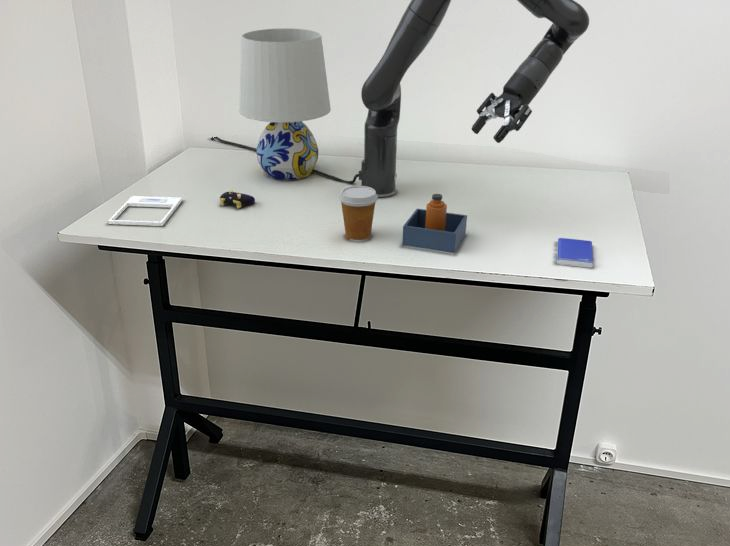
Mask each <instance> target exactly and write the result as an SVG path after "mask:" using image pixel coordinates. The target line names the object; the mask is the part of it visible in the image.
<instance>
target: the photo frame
mask: <svg viewBox="0 0 730 546" xmlns="http://www.w3.org/2000/svg"><path fill="white" fill-rule="evenodd" d="M182 202H183V197H177V196H175V197H172V196H170V197H169V196H141V195H131V196H130V197H129V198H128V199H127V200H126V202H124V204H122V205H121V206H120V207H119V209H117V210H116V211H115V213H114V214H113V215H111V217H110V218H109V219H108V220H107V223H108V225H121V226H123V225H124V226H125V225H126V226H151V227H153V226H154V227H164V225H165V224H166V222H167V221H168V220H169V218H170V217H171V216H172V215H173V213H174V212H175V211H176V210H177V208H178V207H179V206H180V204H181V203H182ZM128 207H139V208H166V209H167V208H169V210H168V212H167V213H166V214H165V215H164V216H163V218H162V219H161V220H160V221H158V220H157V221H155V220H154V221H153V220H129V219H127V220H126V219H118V217H119V216H120V215H121V214H122V213H123V212H124V211H125V210H126V209H127V208H128Z"/></svg>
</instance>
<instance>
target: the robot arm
mask: <svg viewBox="0 0 730 546" xmlns="http://www.w3.org/2000/svg"><path fill="white" fill-rule="evenodd" d="M516 1H517V2H518V4H520V5H521V6H522V7H523V8H525V9H526V10H527V12H529V13H531V15H532V16H534V17H535V18H536V19H546V20H548V21H550V22H551V25H550V27H548V30H546V33H545V34H544V35H543V37H542V39H541V40H540V41H539V42H538V43H537V44H536V46H535V47H534V48H533V49H532V50H531V52H530V53H529V54H528V56H527V57H526V58H525V59H524V60H523V62H521V63H520V64H519V66H518V67H517V68H516V69H515V71H514V72H513V74H512V75H511V76H510V78H509V79H508V80H507V82H505V84H504V85H503V87H502V92H501V94H500V95H499V96H497V95H495V93H494V92H491V93H490V94H489V95H488V96H487V97H486V98H485V99H484V101H483V102H482V103H481V104H480V106H479V107H478V108H477V109H476V113H477V114H478V118H477V119H476V121H475V122H474V123H473V124H472V126H471V131H472V132H473V133H474V134H476V135H478V134H479V133H480V132H481V131H482V129H483V128H484V127H485V126H486V124H487V122H488V121H490V120H494V119H497V118H500V119H504V124H502V125H501V126H500V128H499V129H497V131H496V132H495V134H494V135H493V140H494V141H495V143H497V144H500V143H501V142H503V141H504V139H506V137H507V135H508V134H509V133H510V132H512V131H516V132H519V131H520V130H521V128H522V127H523V125H524V124H525V123H526V121H528V119H529V117H530V116H531V115H532V113H533V110H532V109H531V107H530V106H529V105H530V104H531V103H532V102H533V100H534V99H535V98H536V96H537V95H538V94H539V92H540V91H541V90H542V88H543V87H544V86H545V84H546V83H547V81H548V80H549V77H551V75H552V73H554V71H555V70H556V68H558V66H559V64H560V63H561V61H562V60H563V57H564V55H565V54H566V53H567V51H568V50H569V49H570V48H571V46H572V45H573V44H575V42H576V41H577V40H578V39H579V38H581V36H582V35H584V34H585V32H586V31H587V30H588V28H589V26H590V16H589V13H588V12H587V10H586V9H585V8H584V6H582V4H580V3H578V2H577V1H576V0H516ZM451 2H452V0H410V2H409V4H408V5H407V7H406V9H405V11H404V12H403V14H402V16H401V18H400V20H399V22H398V24H397V26H396V28H395V30H394V32H393V34H392V36H391V38H390V41H389V42H388V44H387V47H386V49H385V51H384V52H383V54H382V56H381V58H380V60H379V61H378V62H377V64H376V66H375V67H374V69H373V70H372V71H371V72H370V74H369V75H368V77H367V78H366V79H365V81H364V82H363V84H362V86H361V92H360V93H361V94H360V96H361V101H362V104H363V105H364V107H365V108H366V109H367V110H368V111H367V116H366V119H365V121H364V126H363V127H364V128H363V134H364V136H363V153H364V154H363V159H362V160H361V170H359V171H358V173H356V174H355V175H354V176H353V178H352V180H344V179H342V178H339V177H337V176H334V175H332V174H328V173H325V172H322V171H320V170H317V169H315V168H314V169H313V170H312V172H311V173H315V174H317V175H320V176H323V177H325V178H329V179H332V180H334V181H337V182H340V183H344V184H350V185H352V184H355V182H356V181H357V178H358V180H359V181H361V186H367V187H371V188H373V189H374V190H375V191H376V195H377V196H378V197H377V198H386V197H391V196H394V195H395V194H396V191H397V189H396V185H397V184H396V180H397V176H398V174H397V153H398V149H397V148H398V128H399V127H398V126H399V123H400V119H401V107H402V106H401V104H402V86H401V82H402V80H403V79H404V76H405V75H406V73H407V71H408V70H409V69H410V67H411V66H412V64H414V62H415V61H416V60H417V59H418V58H419V56H420V55H421V54H422V53H423V51H424V50H426V47H427V46H428V45H429V44H430V42H431V40H433V37H434V36H435V34H436V33H437V32H438V29H439V28H440V26H441V24H442V22H443V20H444V19H445V16H446V14H447V11H448V10H449V7H450V5H451ZM213 140H217V141H219V142H220V143H223V144H228V145H231V146H236V147H240V148H243V149H247V150H250V151H254V152H257V147H252V146H249V145H246V144H241V143H237V142H233V141H228V140H225V139H221V138H220V137H218V136H216V137H214V138H213V136H211V138H210V141H213Z"/></svg>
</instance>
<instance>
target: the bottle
mask: <svg viewBox="0 0 730 546" xmlns="http://www.w3.org/2000/svg"><path fill="white" fill-rule="evenodd" d="M425 208H426V209H425V210H426V222H425V228H426V229H433V230H440V231H445V225H446V213H448V212H447V210H448V204H447V203H445V201H443V194H441V193H433V194H432V195H431V200H430V201H429V202H428V203H426V207H425Z"/></svg>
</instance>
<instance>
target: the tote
mask: <svg viewBox="0 0 730 546" xmlns="http://www.w3.org/2000/svg"><path fill="white" fill-rule="evenodd" d="M425 222H426V209H424V208H416V209H415V210H414V212H412V214H411V215H410V217H409V218H408V219H407V220H406V222H405V223H404V224H403V226H402V242H401V245H402V246H404V247H405V246H406V247H412V248H418V249H425V250H432V251H439V252H445V253H452V254H455V253H456V251H457V250H458V247H459V246H460V245H461V242H462V241H463V239H464V237H465V235H466V233H467V222H468V215H467V214H460V213H452V212H446V225H445V231H440V230H433V229H426V228H425Z"/></svg>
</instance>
